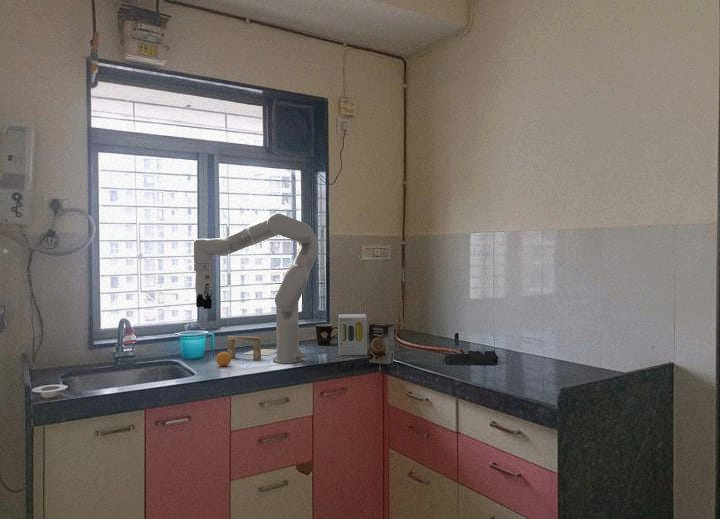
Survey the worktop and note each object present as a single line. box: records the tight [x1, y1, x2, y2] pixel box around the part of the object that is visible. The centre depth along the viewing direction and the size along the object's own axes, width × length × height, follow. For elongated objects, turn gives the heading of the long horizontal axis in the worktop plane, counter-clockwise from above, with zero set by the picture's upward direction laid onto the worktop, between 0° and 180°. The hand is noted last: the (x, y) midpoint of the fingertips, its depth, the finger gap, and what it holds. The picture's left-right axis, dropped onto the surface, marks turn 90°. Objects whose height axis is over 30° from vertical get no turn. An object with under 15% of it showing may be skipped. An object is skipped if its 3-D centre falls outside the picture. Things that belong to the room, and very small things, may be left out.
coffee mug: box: [314, 323, 338, 347], centre depth 265 cm, size 12×9×10 cm
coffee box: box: [368, 322, 395, 365], centre depth 220 cm, size 9×6×16 cm
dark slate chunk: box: [444, 350, 499, 367], centre depth 219 cm, size 15×22×5 cm
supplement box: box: [337, 313, 368, 356], centre depth 242 cm, size 13×13×18 cm
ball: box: [215, 351, 232, 367], centre depth 216 cm, size 6×6×6 cm
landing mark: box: [242, 348, 277, 356], centre depth 246 cm, size 13×13×1 cm
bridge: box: [226, 335, 262, 361], centre depth 231 cm, size 3×15×10 cm, turn 71°
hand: (203, 307), depth 221 cm, fingers open, 9 cm apart
